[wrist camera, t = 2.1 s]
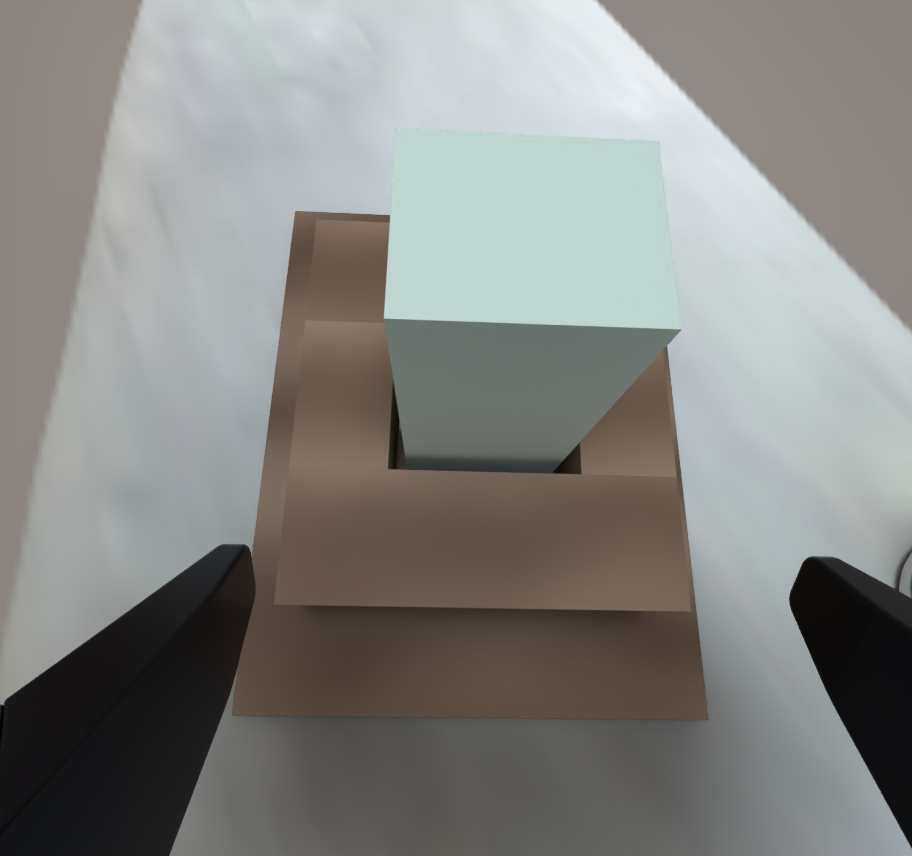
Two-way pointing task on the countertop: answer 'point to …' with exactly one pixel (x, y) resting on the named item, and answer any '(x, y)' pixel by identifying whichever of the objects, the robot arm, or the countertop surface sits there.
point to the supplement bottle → (906, 578)
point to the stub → (521, 291)
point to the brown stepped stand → (453, 539)
